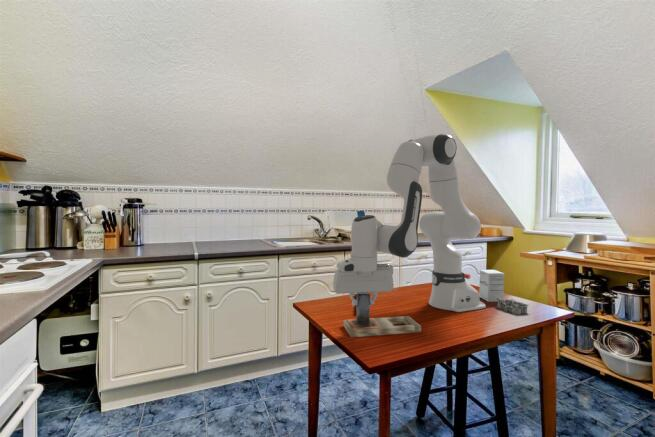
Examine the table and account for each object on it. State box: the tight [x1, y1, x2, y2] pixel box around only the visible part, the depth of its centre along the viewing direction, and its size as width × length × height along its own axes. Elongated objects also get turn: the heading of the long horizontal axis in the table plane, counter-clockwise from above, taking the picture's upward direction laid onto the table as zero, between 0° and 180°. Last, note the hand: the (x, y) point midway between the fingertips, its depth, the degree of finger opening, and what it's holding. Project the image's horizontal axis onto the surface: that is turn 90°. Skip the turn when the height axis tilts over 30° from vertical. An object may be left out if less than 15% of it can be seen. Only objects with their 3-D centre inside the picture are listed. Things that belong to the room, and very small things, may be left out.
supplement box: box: [478, 269, 505, 303], centre depth 150 cm, size 7×7×13 cm
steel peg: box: [355, 292, 371, 327], centre depth 113 cm, size 4×4×10 cm
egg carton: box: [496, 298, 530, 315], centre depth 136 cm, size 11×8×4 cm
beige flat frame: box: [343, 315, 422, 338], centre depth 115 cm, size 24×10×2 cm, turn 101°
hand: (363, 305), depth 113 cm, fingers closed on steel peg, 4 cm apart
